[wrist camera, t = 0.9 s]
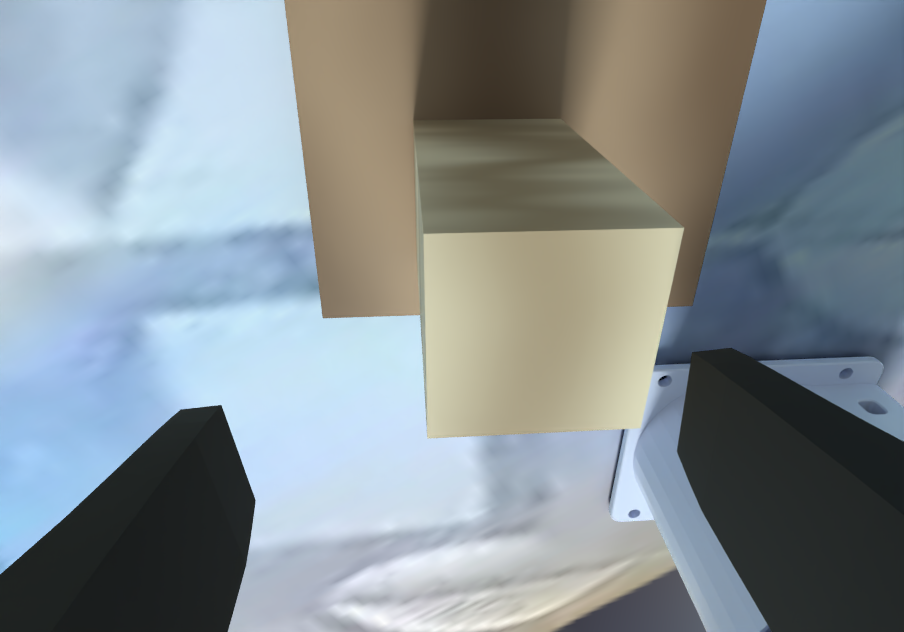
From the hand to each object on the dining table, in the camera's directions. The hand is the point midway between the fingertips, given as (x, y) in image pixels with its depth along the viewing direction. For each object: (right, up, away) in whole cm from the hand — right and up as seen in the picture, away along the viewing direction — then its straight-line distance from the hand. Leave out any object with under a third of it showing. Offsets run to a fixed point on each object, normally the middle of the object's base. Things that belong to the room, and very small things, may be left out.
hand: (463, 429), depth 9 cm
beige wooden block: (+1, +5, +8) cm, 9 cm away
